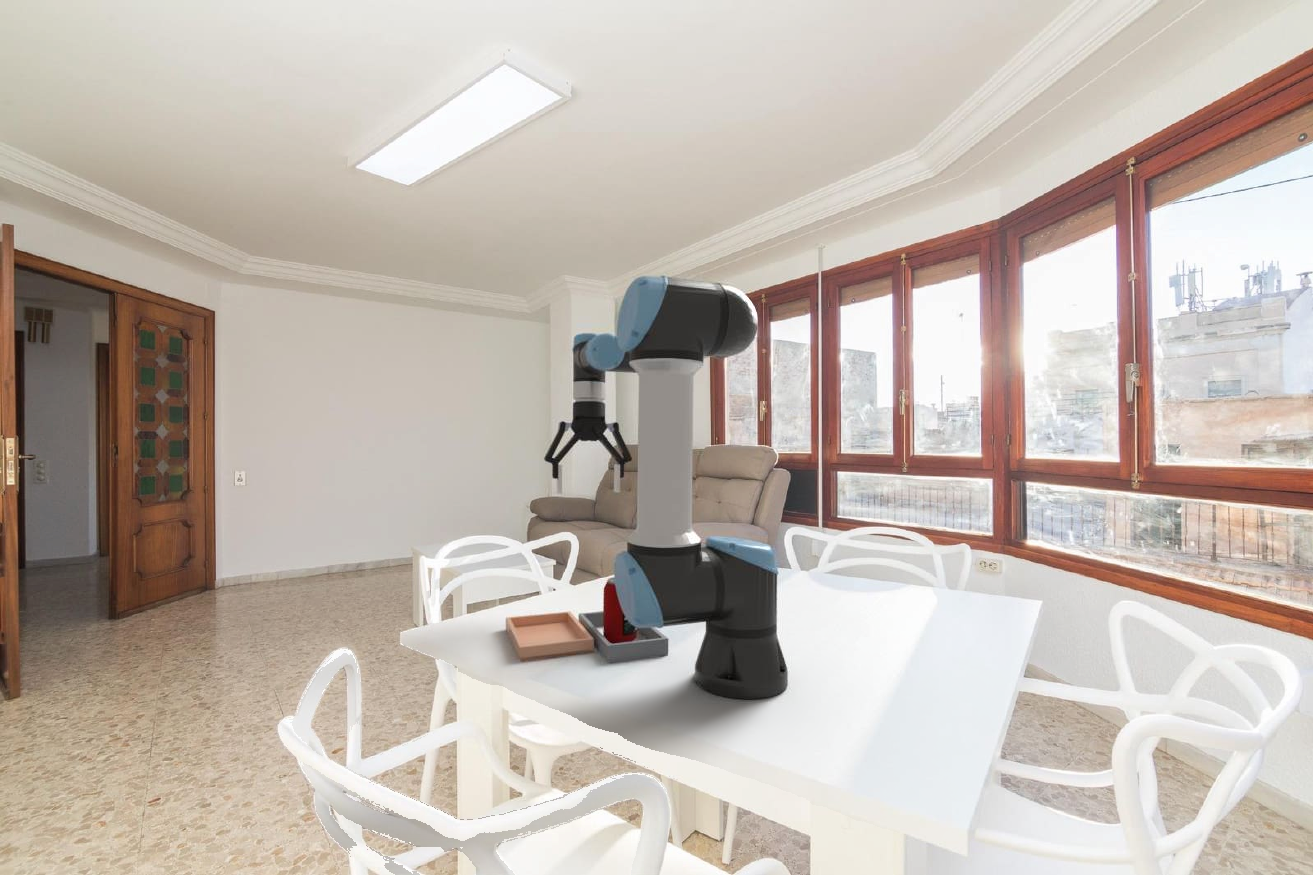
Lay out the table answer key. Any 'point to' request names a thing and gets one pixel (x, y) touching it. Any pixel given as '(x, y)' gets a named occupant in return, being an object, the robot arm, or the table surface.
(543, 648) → the terracotta dish
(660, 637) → the grey bin
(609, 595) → the beverage can
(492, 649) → the table surface
